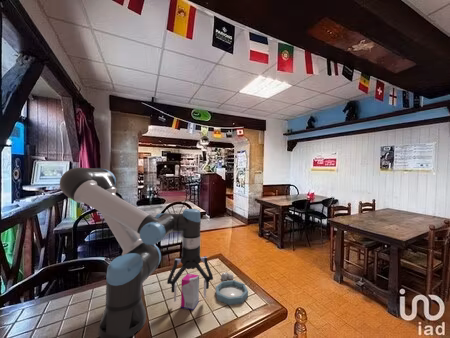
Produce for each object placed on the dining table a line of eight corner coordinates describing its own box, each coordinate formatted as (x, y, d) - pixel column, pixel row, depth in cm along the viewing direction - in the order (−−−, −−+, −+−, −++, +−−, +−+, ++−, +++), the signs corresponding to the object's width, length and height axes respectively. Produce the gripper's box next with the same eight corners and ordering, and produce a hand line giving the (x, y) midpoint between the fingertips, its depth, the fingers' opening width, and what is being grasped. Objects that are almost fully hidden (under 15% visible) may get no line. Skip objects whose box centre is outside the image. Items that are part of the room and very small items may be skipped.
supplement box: (199, 301, 84) (199, 274, 85) (193, 310, 79) (193, 282, 79) (186, 299, 86) (187, 272, 86) (180, 307, 80) (181, 279, 80)
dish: (219, 306, 82) (219, 300, 82) (214, 287, 95) (214, 282, 95) (250, 302, 84) (250, 296, 84) (241, 284, 98) (241, 279, 98)
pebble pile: (224, 283, 100) (224, 276, 100) (219, 278, 105) (219, 271, 105) (234, 280, 103) (234, 273, 103) (229, 275, 108) (229, 269, 108)
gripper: (160, 251, 77) (159, 307, 76) (220, 247, 82) (219, 300, 81) (163, 244, 84) (161, 295, 84) (217, 241, 89) (216, 289, 88)
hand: (190, 297), depth 82 cm, fingers open, 12 cm apart
